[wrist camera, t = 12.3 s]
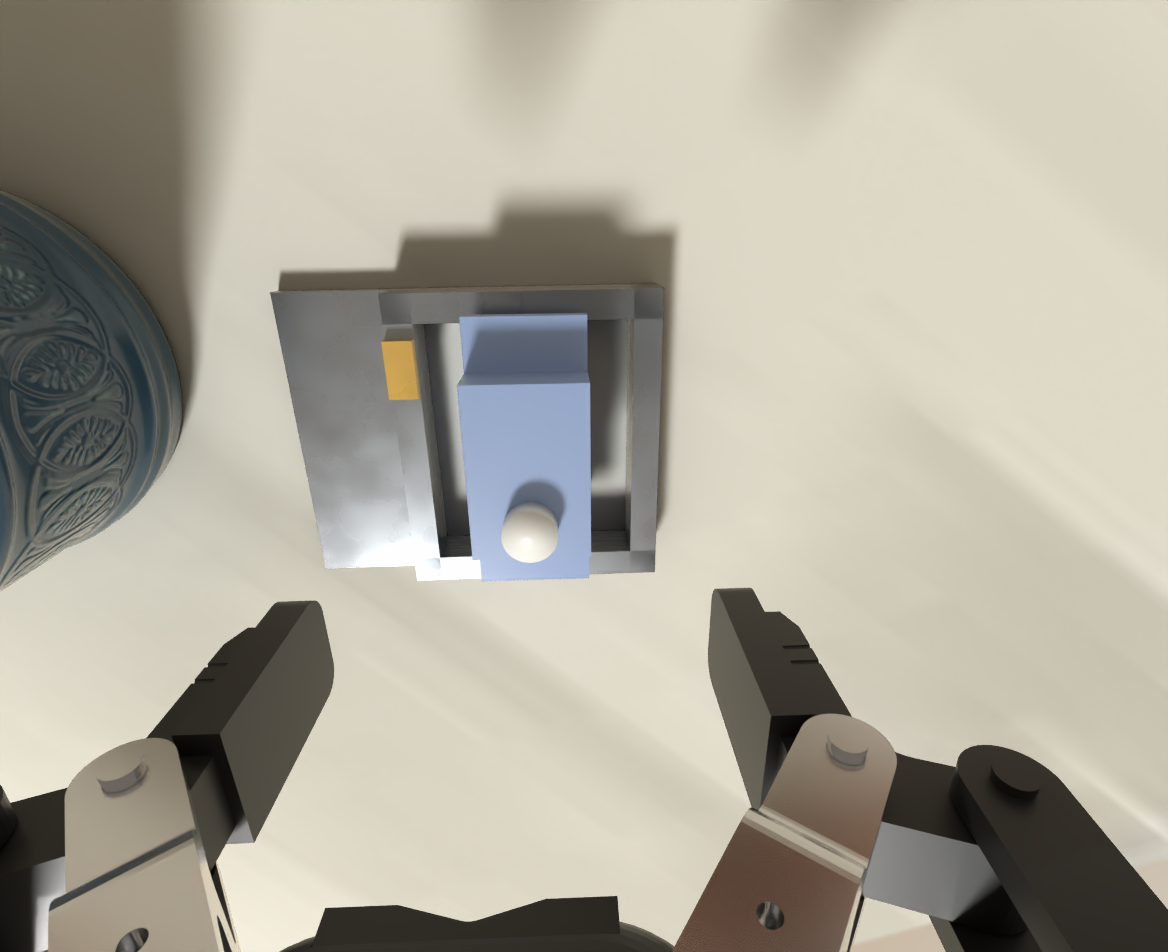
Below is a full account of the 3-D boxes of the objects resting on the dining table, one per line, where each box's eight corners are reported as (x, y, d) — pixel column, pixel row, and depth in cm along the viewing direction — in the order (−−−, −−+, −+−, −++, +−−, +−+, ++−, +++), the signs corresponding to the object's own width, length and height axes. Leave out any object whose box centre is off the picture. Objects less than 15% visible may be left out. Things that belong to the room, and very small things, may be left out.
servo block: (582, 302, 22) (591, 326, 17) (584, 534, 26) (592, 615, 21) (473, 303, 22) (446, 328, 17) (490, 537, 26) (473, 619, 20)
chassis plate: (655, 283, 22) (666, 289, 20) (648, 550, 26) (656, 577, 24) (277, 290, 22) (248, 297, 20) (330, 561, 26) (311, 589, 24)
